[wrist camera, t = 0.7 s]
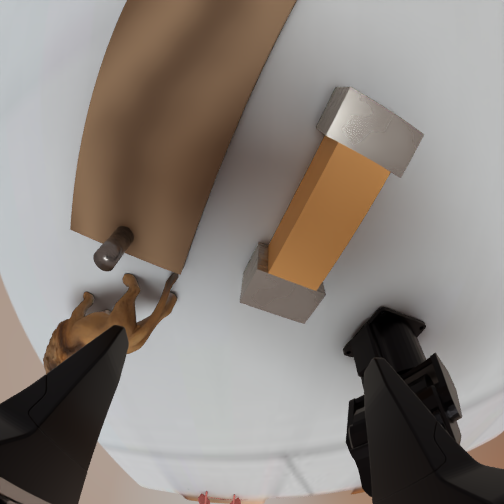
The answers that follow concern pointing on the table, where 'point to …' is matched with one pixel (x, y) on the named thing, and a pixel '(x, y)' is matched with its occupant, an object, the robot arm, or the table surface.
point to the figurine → (204, 500)
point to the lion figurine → (107, 323)
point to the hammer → (328, 203)
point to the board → (166, 121)
